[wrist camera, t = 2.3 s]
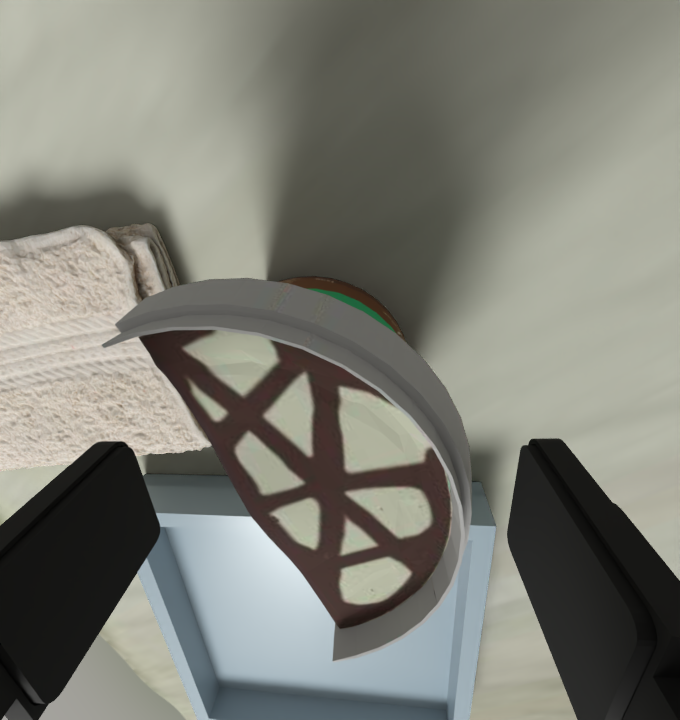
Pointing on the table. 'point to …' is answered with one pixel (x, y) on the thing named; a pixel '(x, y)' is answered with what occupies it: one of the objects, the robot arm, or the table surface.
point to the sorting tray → (295, 620)
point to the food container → (324, 439)
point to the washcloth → (83, 348)
